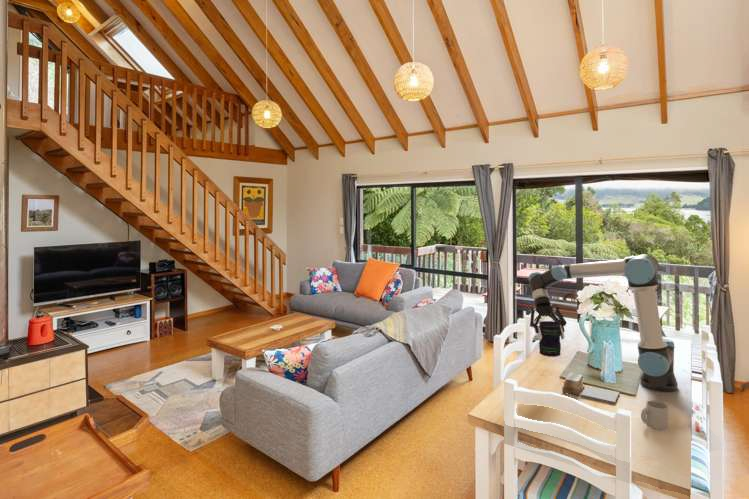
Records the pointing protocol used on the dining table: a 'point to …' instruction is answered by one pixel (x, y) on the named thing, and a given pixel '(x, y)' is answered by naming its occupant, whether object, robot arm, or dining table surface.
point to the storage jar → (550, 338)
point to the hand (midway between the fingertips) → (551, 338)
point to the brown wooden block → (573, 384)
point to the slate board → (600, 394)
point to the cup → (655, 415)
